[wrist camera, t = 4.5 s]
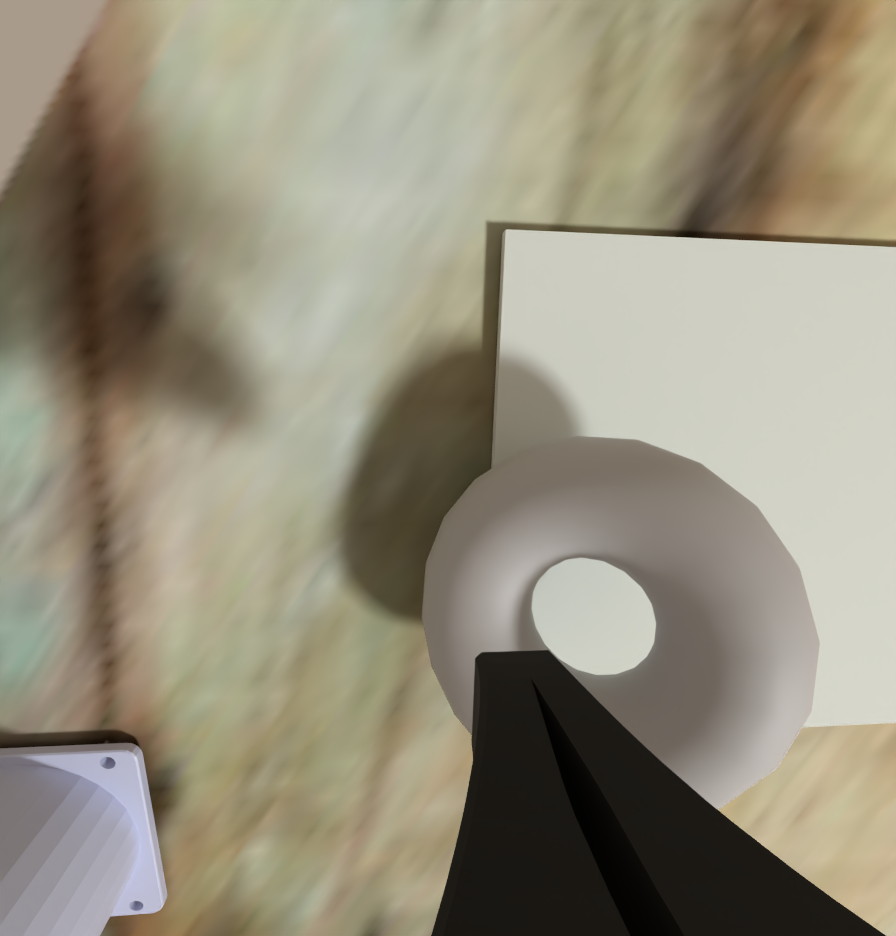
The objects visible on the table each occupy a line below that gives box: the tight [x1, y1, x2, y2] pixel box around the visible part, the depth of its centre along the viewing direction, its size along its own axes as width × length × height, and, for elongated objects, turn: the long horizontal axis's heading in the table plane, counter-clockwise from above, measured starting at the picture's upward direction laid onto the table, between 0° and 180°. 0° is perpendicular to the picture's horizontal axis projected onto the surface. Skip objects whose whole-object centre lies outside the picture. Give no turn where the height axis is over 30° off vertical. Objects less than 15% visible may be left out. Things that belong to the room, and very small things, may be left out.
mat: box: [491, 229, 896, 727], centre depth 16 cm, size 18×18×1 cm
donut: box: [422, 436, 820, 809], centre depth 13 cm, size 10×4×10 cm
